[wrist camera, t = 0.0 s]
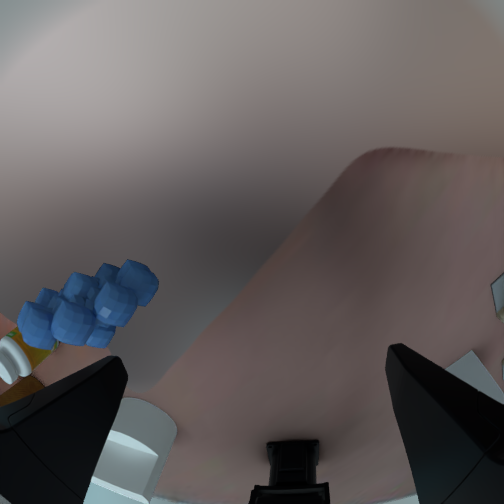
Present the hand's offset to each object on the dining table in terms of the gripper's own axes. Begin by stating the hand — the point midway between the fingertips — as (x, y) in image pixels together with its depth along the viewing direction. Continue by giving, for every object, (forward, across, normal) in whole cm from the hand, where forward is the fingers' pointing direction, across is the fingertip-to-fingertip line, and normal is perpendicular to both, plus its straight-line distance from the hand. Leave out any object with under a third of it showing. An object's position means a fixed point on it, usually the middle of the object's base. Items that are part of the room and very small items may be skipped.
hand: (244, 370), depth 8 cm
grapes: (+15, +14, +2) cm, 21 cm away
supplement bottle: (+15, +30, +8) cm, 35 cm away
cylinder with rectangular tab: (+15, +19, +22) cm, 33 cm away
